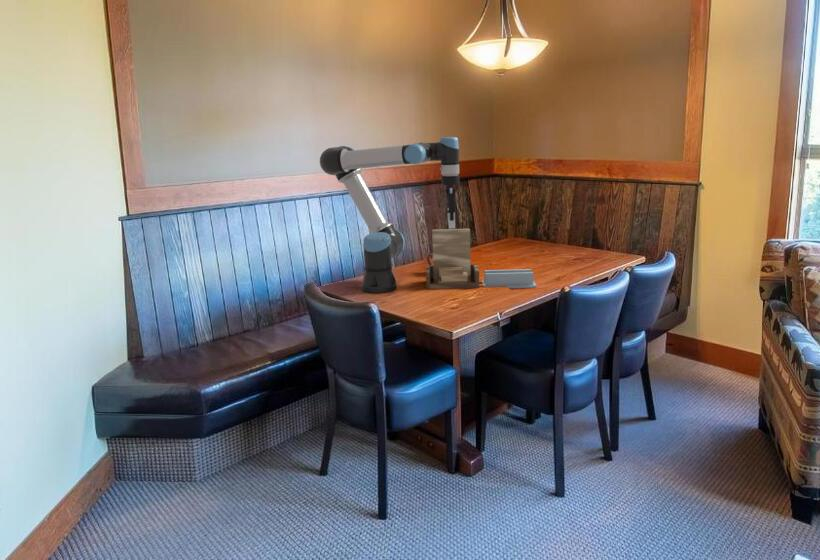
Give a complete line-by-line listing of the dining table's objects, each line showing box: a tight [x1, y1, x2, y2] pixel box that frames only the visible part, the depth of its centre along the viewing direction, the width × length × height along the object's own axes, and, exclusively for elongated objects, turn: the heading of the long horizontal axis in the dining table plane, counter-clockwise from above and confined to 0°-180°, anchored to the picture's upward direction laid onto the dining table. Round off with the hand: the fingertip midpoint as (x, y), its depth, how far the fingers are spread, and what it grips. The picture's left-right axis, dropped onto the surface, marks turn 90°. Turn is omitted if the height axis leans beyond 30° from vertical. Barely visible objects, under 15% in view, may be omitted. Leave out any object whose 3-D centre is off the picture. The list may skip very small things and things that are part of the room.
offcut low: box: [438, 279, 467, 283], centre depth 260 cm, size 5×12×2 cm, turn 88°
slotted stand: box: [481, 268, 537, 289], centre depth 261 cm, size 10×22×6 cm, turn 88°
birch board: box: [431, 228, 471, 283], centre depth 264 cm, size 2×16×23 cm, turn 88°
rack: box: [425, 263, 480, 290], centre depth 262 cm, size 14×22×8 cm, turn 88°
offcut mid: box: [441, 272, 468, 282], centre depth 260 cm, size 5×11×2 cm, turn 88°
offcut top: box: [439, 267, 463, 276], centre depth 259 cm, size 5×10×2 cm, turn 91°
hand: (451, 225), depth 260 cm, fingers open, 13 cm apart
